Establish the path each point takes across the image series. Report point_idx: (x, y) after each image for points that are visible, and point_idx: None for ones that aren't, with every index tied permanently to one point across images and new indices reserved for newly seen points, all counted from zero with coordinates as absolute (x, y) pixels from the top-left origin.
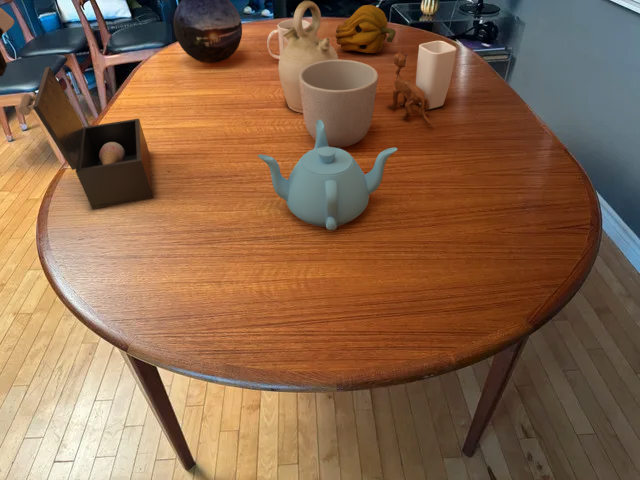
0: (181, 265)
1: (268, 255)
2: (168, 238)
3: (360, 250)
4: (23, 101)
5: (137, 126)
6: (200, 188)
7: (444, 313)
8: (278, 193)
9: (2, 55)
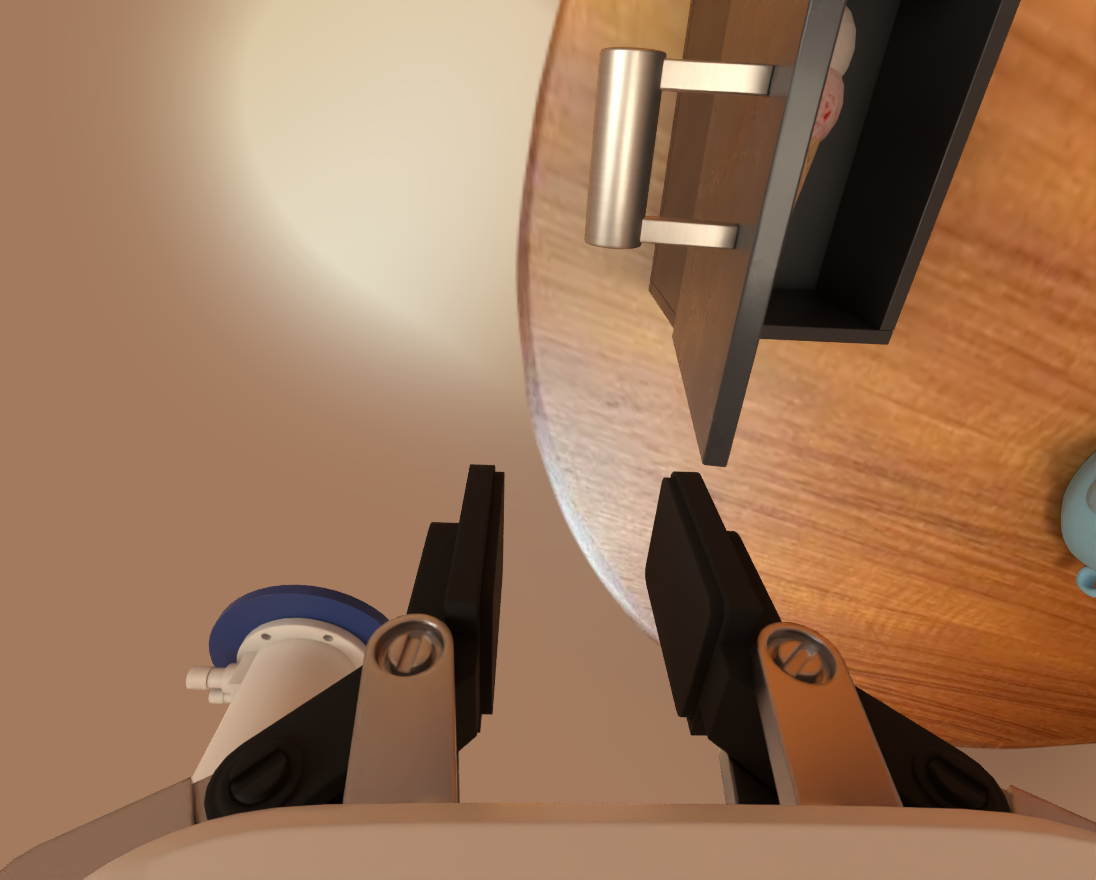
0: (784, 541)
1: (934, 565)
2: (791, 466)
3: (1073, 600)
4: (622, 180)
5: (1002, 25)
6: (951, 301)
7: (1051, 710)
8: (1092, 510)
9: (755, 580)
